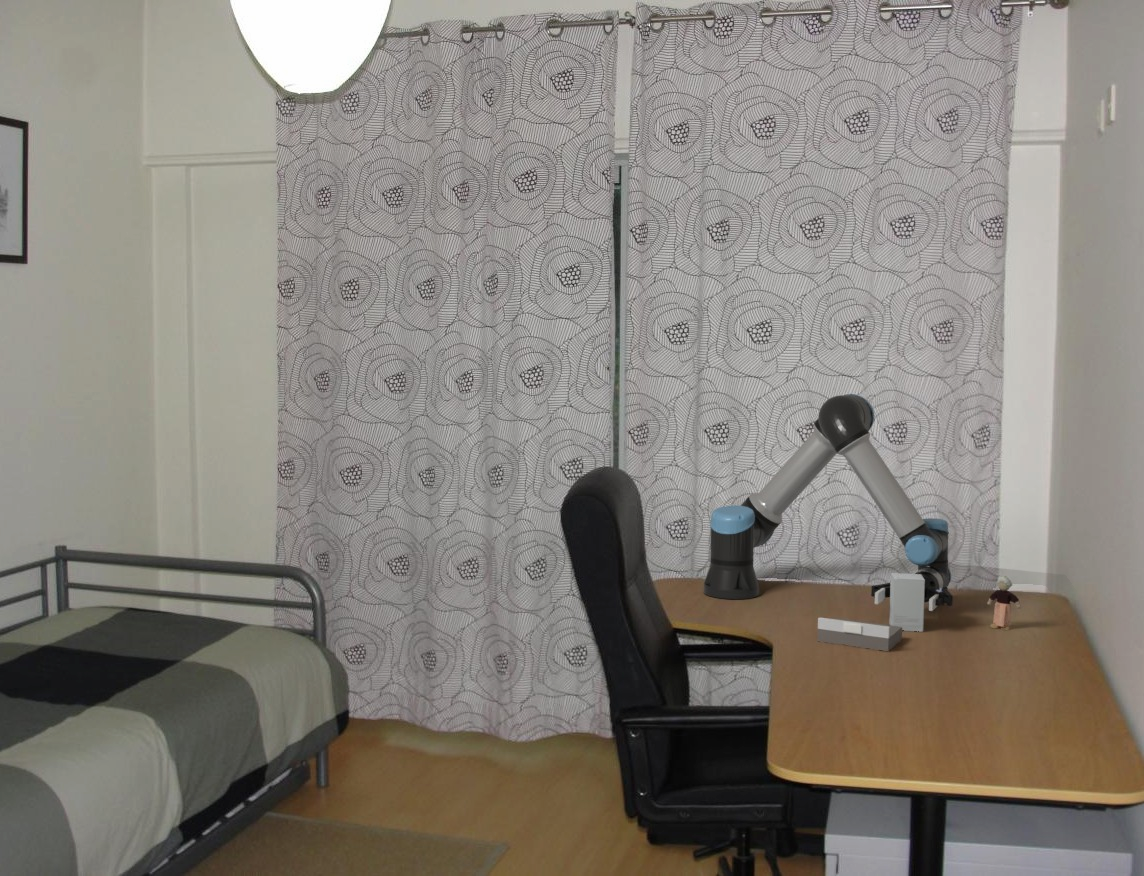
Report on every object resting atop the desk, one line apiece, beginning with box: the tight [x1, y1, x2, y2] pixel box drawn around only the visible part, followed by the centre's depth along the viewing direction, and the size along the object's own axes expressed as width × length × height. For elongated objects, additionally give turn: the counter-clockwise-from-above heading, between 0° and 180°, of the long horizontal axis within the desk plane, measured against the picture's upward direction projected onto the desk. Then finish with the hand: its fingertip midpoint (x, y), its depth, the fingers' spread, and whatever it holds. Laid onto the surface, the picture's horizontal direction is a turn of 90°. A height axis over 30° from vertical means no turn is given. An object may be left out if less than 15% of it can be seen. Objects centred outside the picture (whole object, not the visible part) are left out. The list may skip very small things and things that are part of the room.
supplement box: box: [888, 572, 925, 633], centre depth 261 cm, size 7×7×13 cm
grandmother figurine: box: [987, 575, 1022, 631], centre depth 261 cm, size 8×4×13 cm, turn 62°
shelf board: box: [817, 617, 903, 652], centre depth 248 cm, size 16×12×5 cm
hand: (903, 601), depth 258 cm, fingers open, 12 cm apart
